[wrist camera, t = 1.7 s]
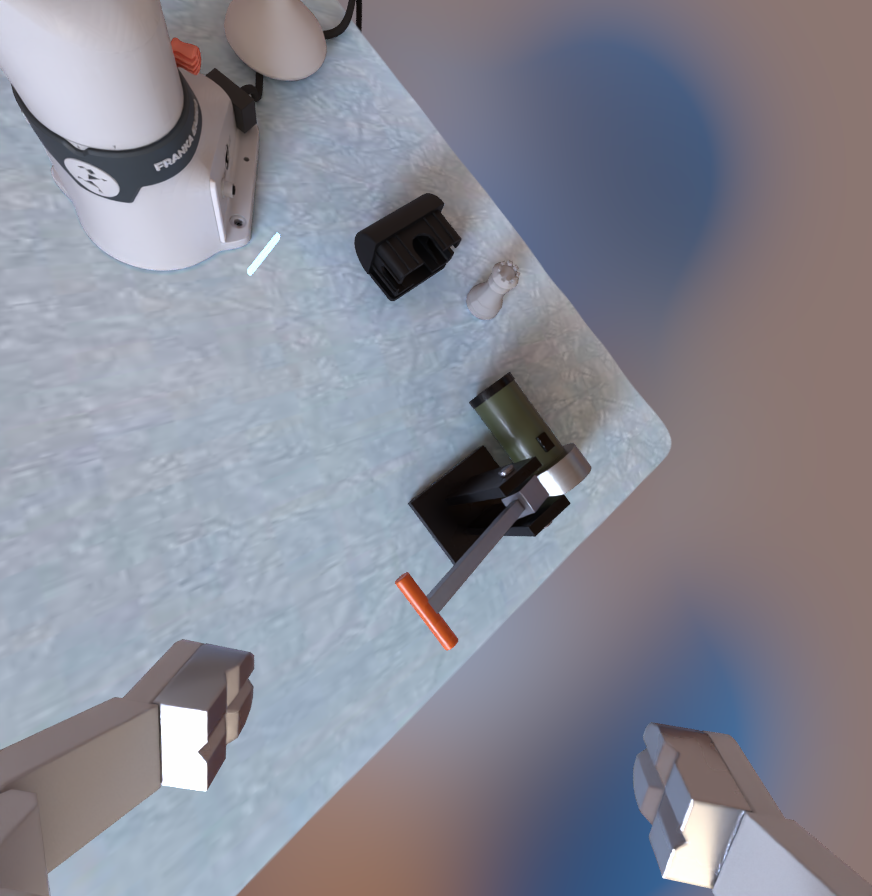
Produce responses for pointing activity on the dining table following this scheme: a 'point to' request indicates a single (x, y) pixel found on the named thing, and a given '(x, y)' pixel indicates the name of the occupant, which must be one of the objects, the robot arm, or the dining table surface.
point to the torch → (529, 436)
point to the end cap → (407, 246)
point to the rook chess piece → (492, 291)
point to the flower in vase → (276, 37)
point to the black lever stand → (479, 502)
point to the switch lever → (470, 560)
